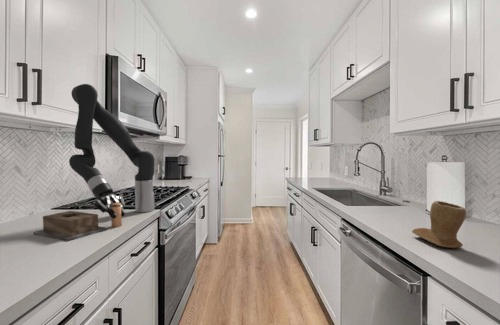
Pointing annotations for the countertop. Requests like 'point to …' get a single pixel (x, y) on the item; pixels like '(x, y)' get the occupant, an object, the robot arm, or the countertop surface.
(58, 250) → the countertop surface
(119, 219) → the dowel pin
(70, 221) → the hitch block
